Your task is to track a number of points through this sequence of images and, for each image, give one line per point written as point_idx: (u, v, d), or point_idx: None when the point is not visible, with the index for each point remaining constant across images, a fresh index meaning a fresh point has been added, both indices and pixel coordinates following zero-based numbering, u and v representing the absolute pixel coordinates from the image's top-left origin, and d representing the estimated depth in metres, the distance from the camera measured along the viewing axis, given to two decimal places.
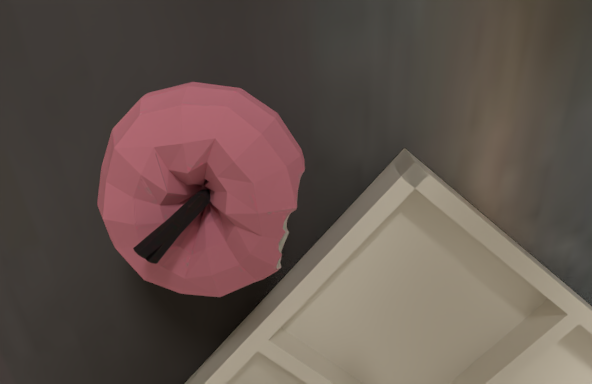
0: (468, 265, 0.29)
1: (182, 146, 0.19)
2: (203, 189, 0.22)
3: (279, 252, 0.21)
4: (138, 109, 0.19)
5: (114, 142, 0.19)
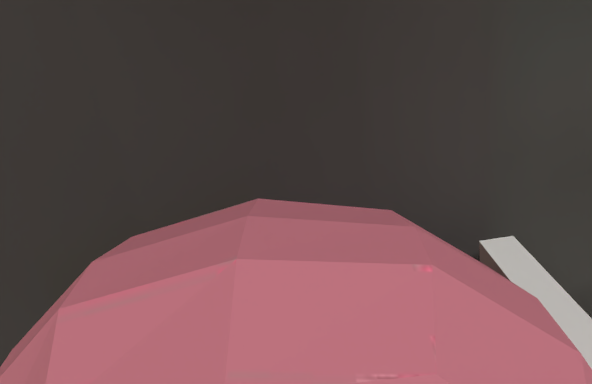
0: None
1: None
2: None
3: None
4: (41, 383, 0.05)
5: None
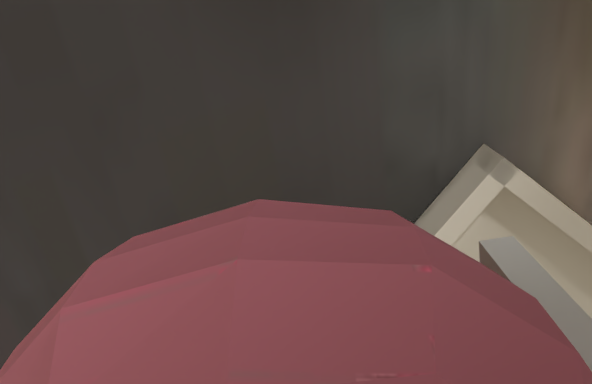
0: (557, 267, 0.27)
1: None
2: None
3: None
4: (44, 381, 0.05)
5: None
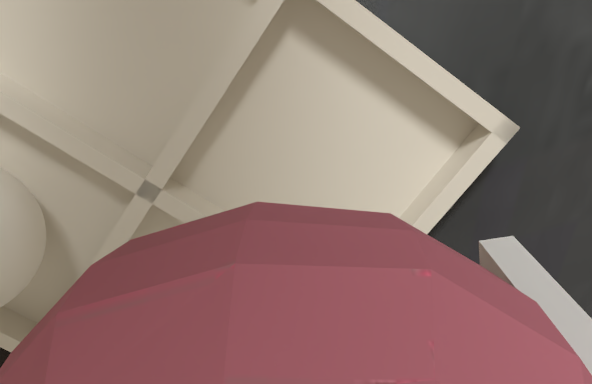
0: None
1: None
2: None
3: None
4: None
5: None
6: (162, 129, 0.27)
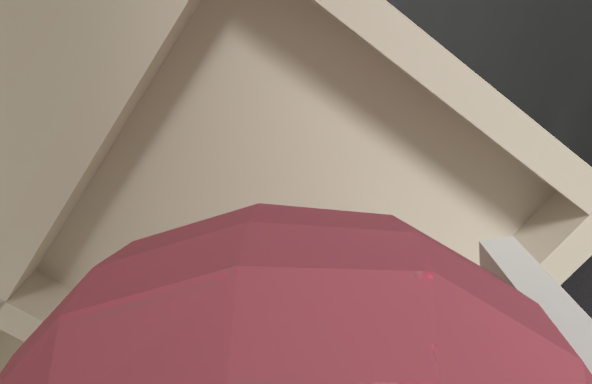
0: None
1: None
2: None
3: None
4: None
5: None
6: (16, 193, 0.16)
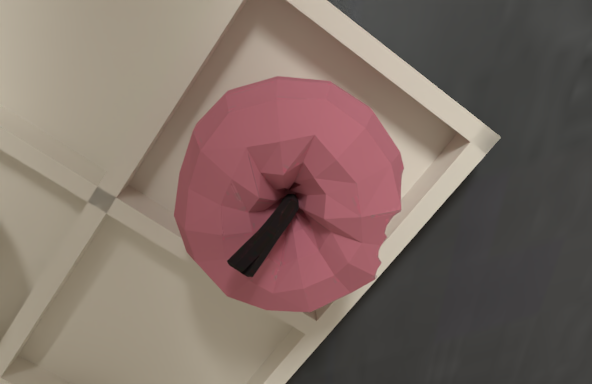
0: None
1: (279, 145, 0.17)
2: (289, 194, 0.20)
3: (379, 260, 0.19)
4: (225, 107, 0.17)
5: (199, 144, 0.17)
6: (119, 133, 0.25)
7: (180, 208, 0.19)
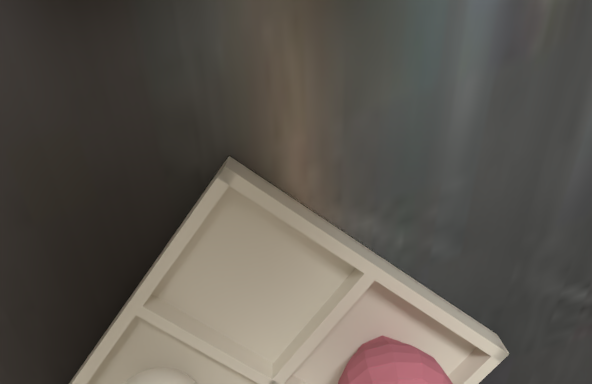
0: (292, 241, 0.39)
1: None
2: None
3: None
4: (370, 378, 0.34)
5: None
6: (280, 343, 0.42)
7: None
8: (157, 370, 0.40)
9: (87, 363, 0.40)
